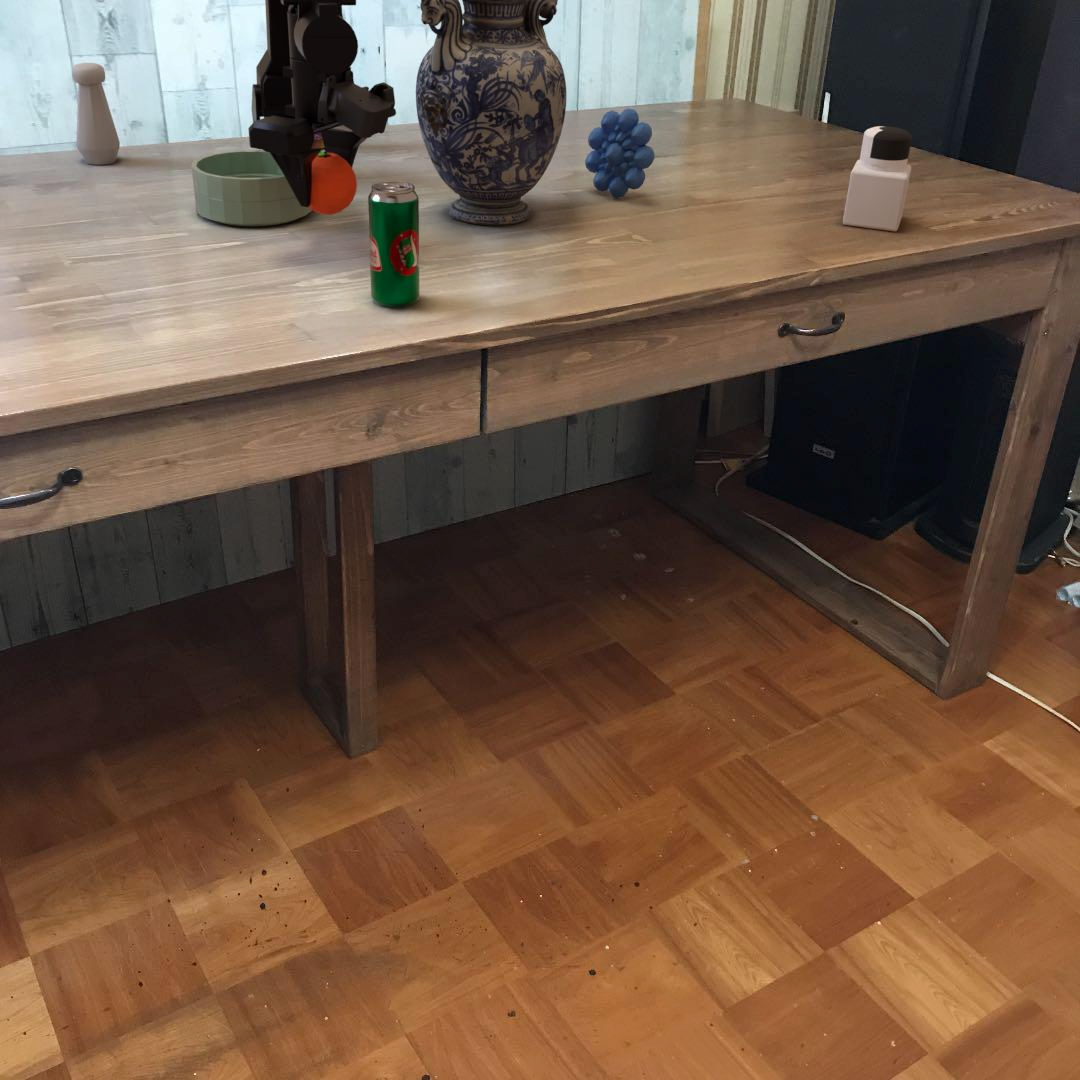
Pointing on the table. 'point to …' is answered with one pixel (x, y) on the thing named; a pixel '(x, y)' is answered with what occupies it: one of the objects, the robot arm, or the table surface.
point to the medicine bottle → (879, 180)
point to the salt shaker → (94, 116)
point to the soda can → (394, 243)
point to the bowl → (244, 189)
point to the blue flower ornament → (619, 152)
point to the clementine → (331, 184)
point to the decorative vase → (490, 103)
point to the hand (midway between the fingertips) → (323, 199)
